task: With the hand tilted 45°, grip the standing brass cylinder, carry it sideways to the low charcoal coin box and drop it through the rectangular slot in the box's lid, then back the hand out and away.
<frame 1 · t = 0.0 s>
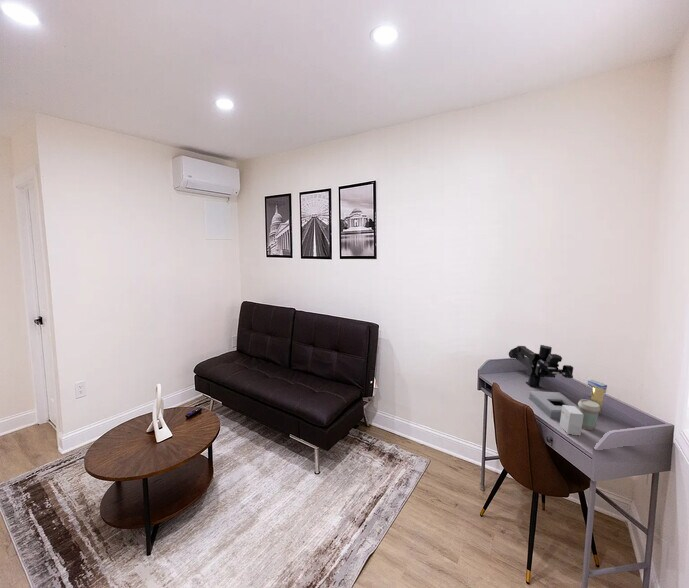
hand: (563, 377, 169), 17 cm above the table, tool horizontal, fingers open, 9 cm apart
small box: (569, 430, 150), on the table
coffee cup: (585, 426, 154), on the table
brass cylinder: (594, 412, 167), on the table
medicine box: (594, 397, 185), on the table
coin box: (554, 408, 170), on the table
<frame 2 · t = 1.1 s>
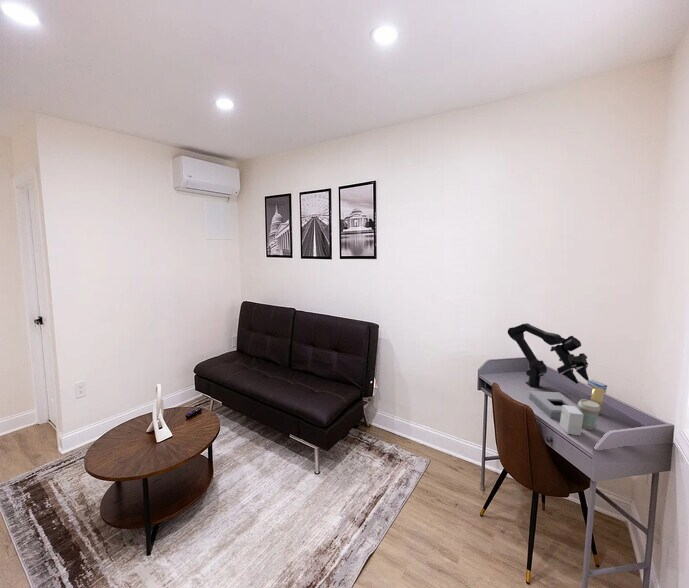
hand: (582, 381, 171), 14 cm above the table, tool tilted 45°, fingers open, 9 cm apart
nothing on the table moved.
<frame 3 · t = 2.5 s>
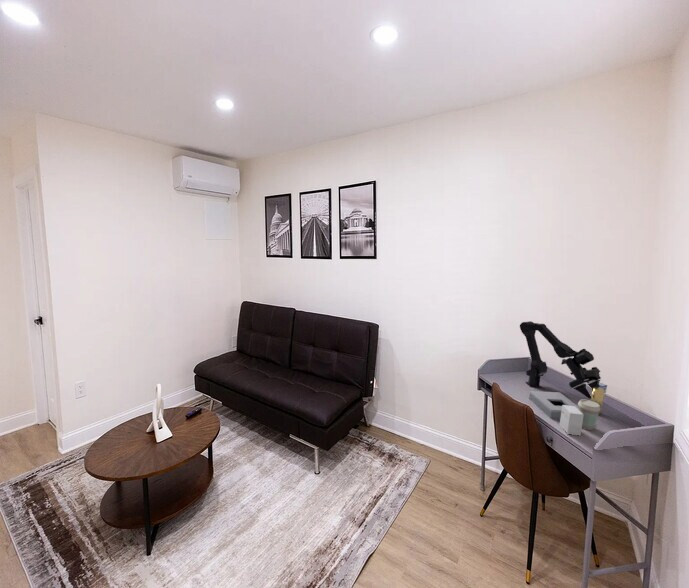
hand: (595, 396, 166), 8 cm above the table, tool tilted 45°, fingers open, 9 cm apart
nothing on the table moved.
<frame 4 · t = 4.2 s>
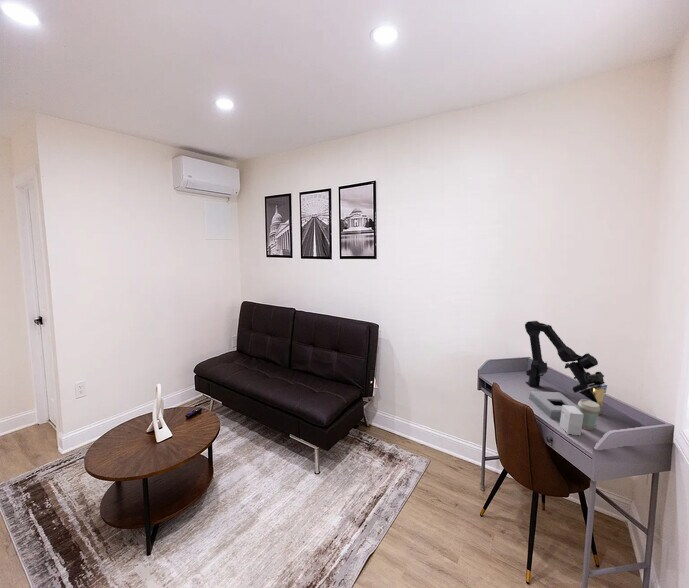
hand: (599, 401, 165), 7 cm above the table, tool tilted 45°, fingers closed on brass cylinder, 5 cm apart
brass cylinder: (594, 412, 167), on the table, touching gripper
everything else where it was.
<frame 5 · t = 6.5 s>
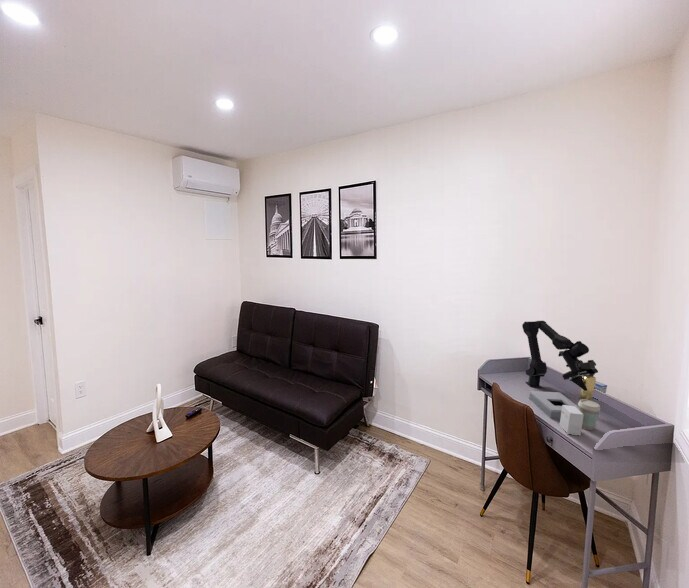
hand: (590, 389, 163), 13 cm above the table, tool tilted 45°, fingers closed on brass cylinder, 5 cm apart
brass cylinder: (585, 400, 165), point 7 cm above the table, touching gripper
everything else where it was.
when the fingers open (10 cm above the table, at t = 9.1 s): brass cylinder drops 4 cm, resting in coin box.
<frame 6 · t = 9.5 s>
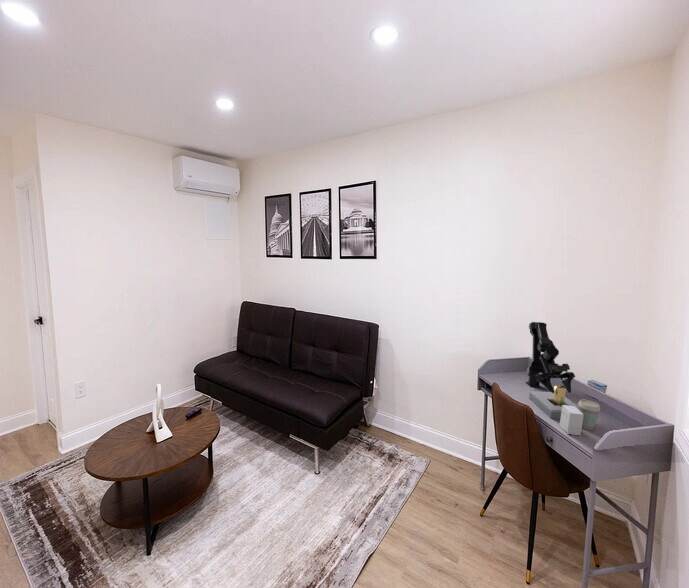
hand: (561, 392, 165), 11 cm above the table, tool tilted 45°, fingers open, 9 cm apart
brass cylinder: (556, 410, 168), resting in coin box
everything else where it was.
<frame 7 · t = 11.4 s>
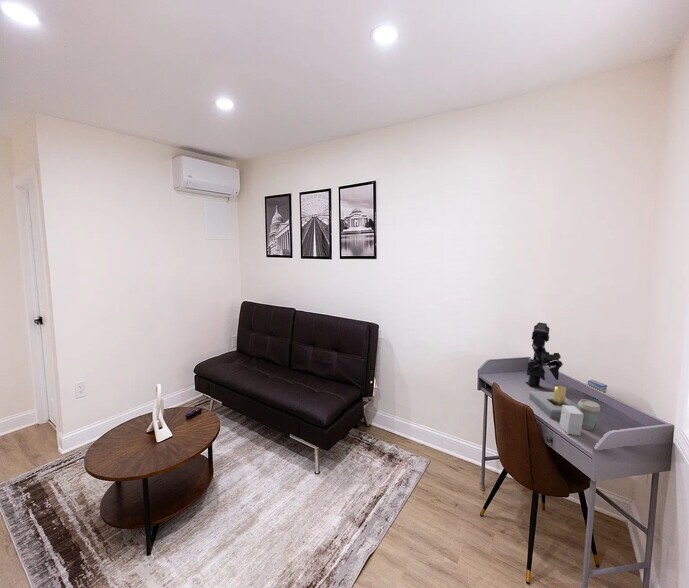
hand: (550, 379, 174), 13 cm above the table, tool tilted 40°, fingers open, 9 cm apart
nothing on the table moved.
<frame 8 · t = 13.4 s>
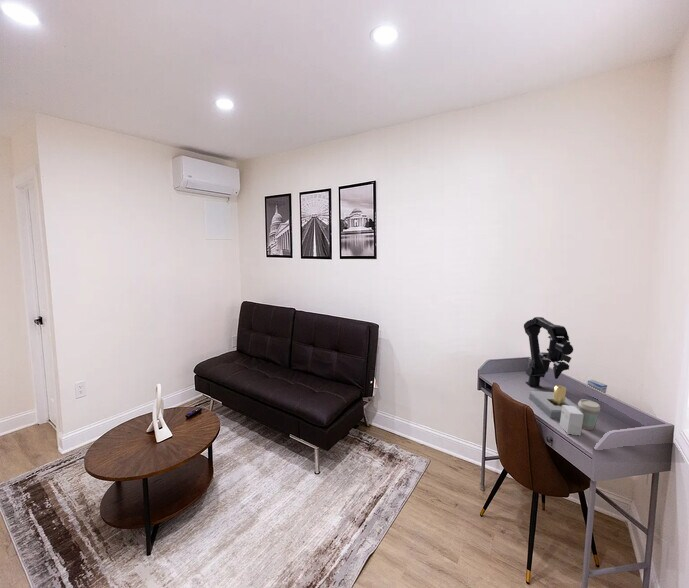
hand: (551, 375, 180), 13 cm above the table, tool pointing down, fingers open, 9 cm apart
nothing on the table moved.
at the end: brass cylinder 0.0 cm from the target spot on the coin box, point 0.0 cm above the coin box's base; the gripper is holding nothing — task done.
